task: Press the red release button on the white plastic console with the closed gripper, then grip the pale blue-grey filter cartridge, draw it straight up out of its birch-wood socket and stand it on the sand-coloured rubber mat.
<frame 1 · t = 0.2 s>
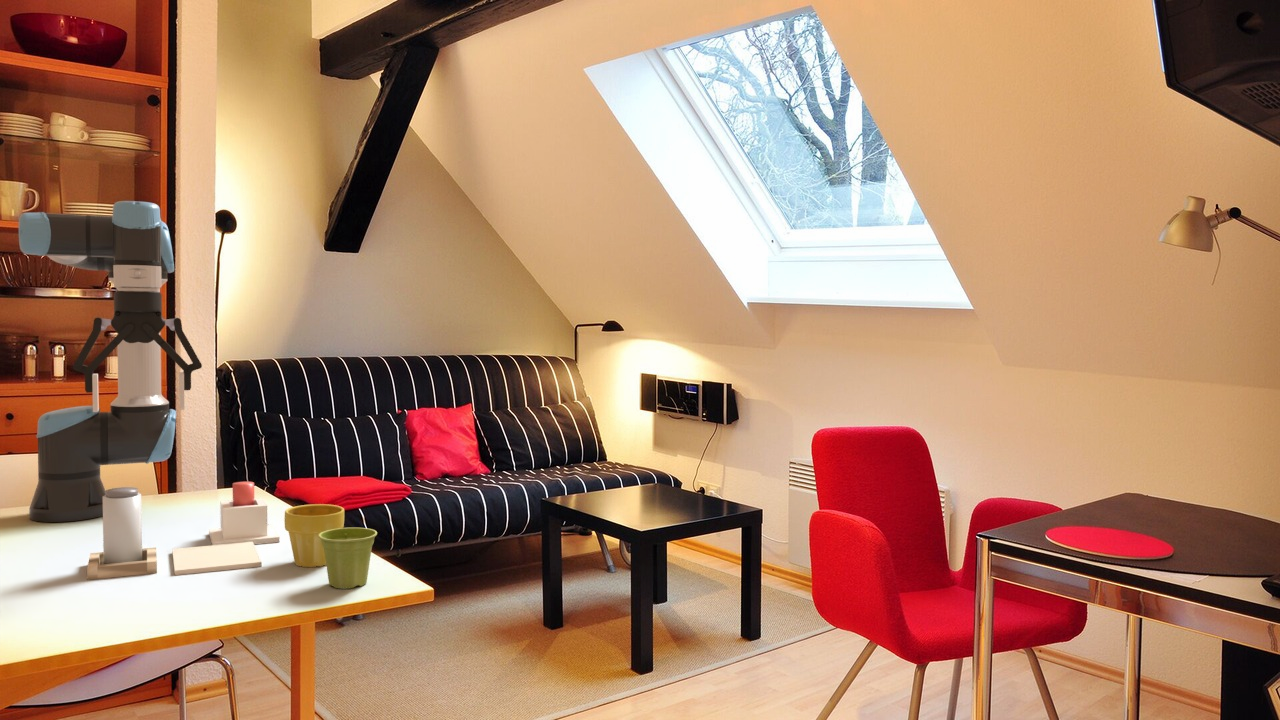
hand: (139, 410, 173), 28 cm above the table, tool pointing down, fingers open, 13 cm apart
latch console: (243, 538, 195), on the table
filter cartridge: (122, 529, 171), in the socket
latch button: (243, 495, 194), point 8 cm above the table, slide at 0.0 cm
plant pot: (314, 563, 178), on the table
sand mat: (216, 559, 178), on the table
socket: (123, 568, 172), on the table
plant pot 2: (348, 585, 165), on the table
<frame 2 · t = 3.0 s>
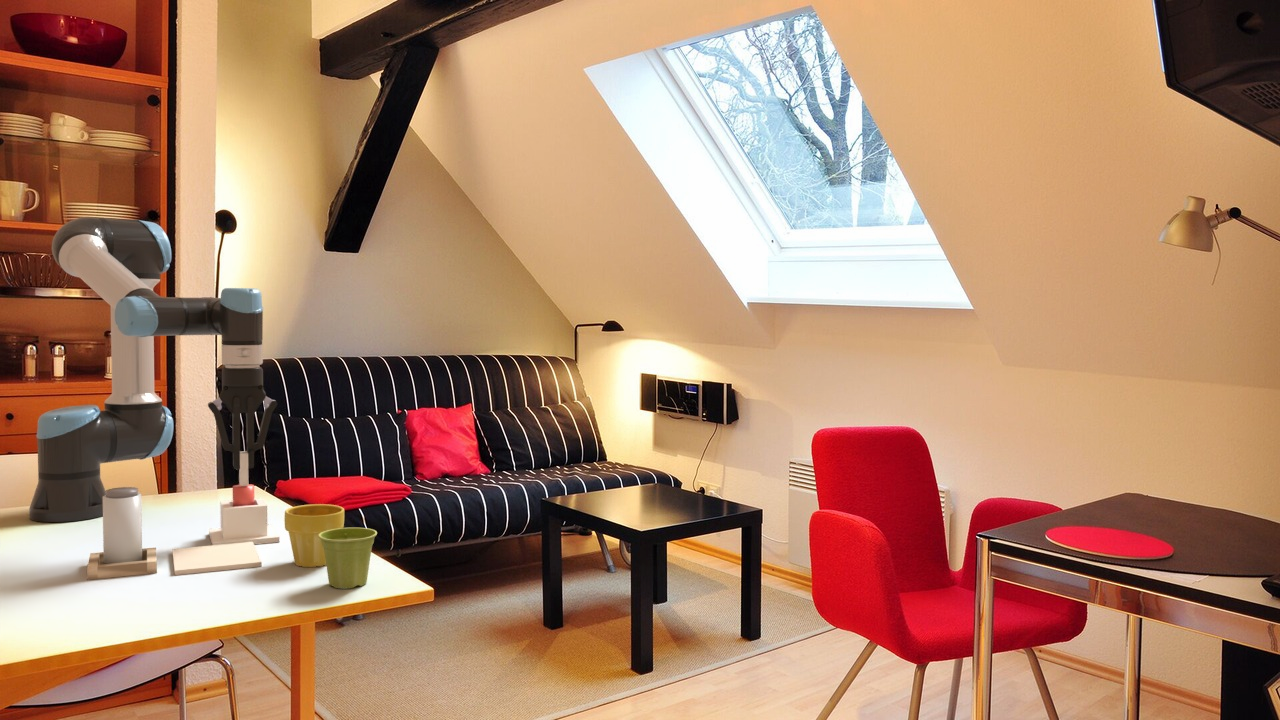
hand: (243, 484, 194), 11 cm above the table, tool pointing down, fingers closed
latch button: (243, 498, 194), point 8 cm above the table, slide at 0.5 cm, touching gripper
everything else where it was.
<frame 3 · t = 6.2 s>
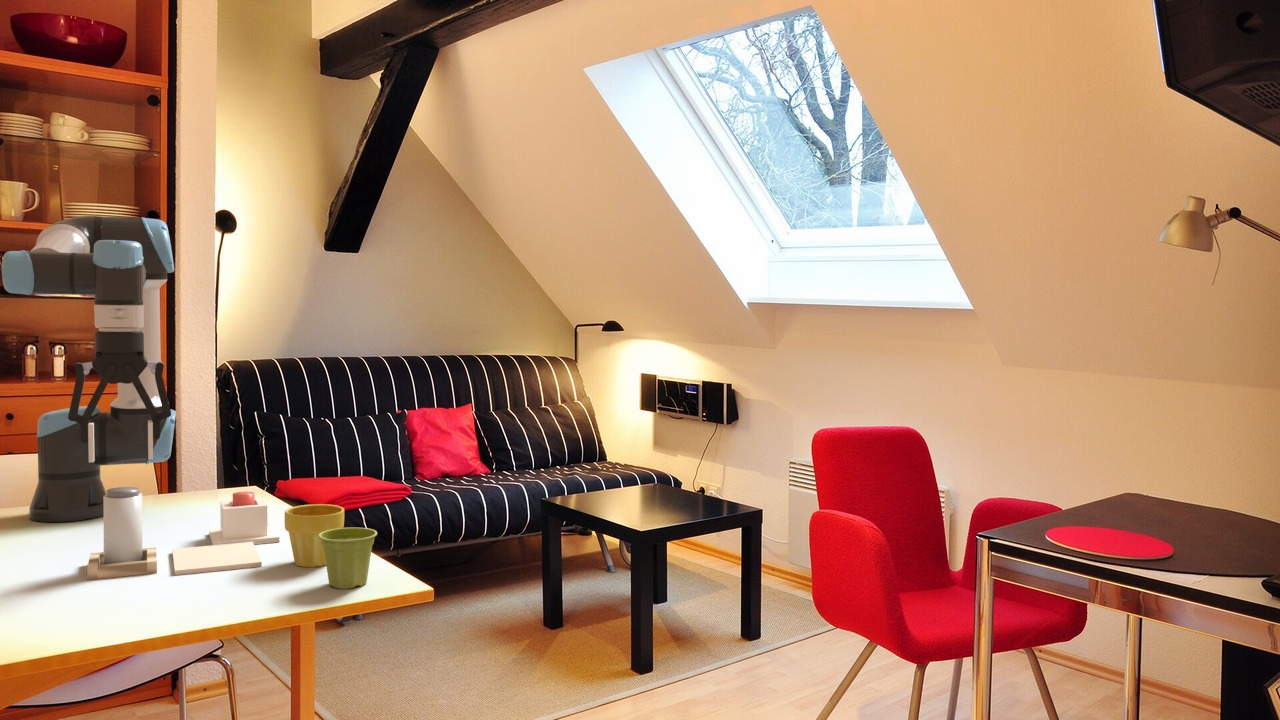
hand: (121, 459, 171), 19 cm above the table, tool pointing down, fingers open, 8 cm apart
latch button: (243, 505, 194), point 6 cm above the table, slide at 2.0 cm
everything else where it was.
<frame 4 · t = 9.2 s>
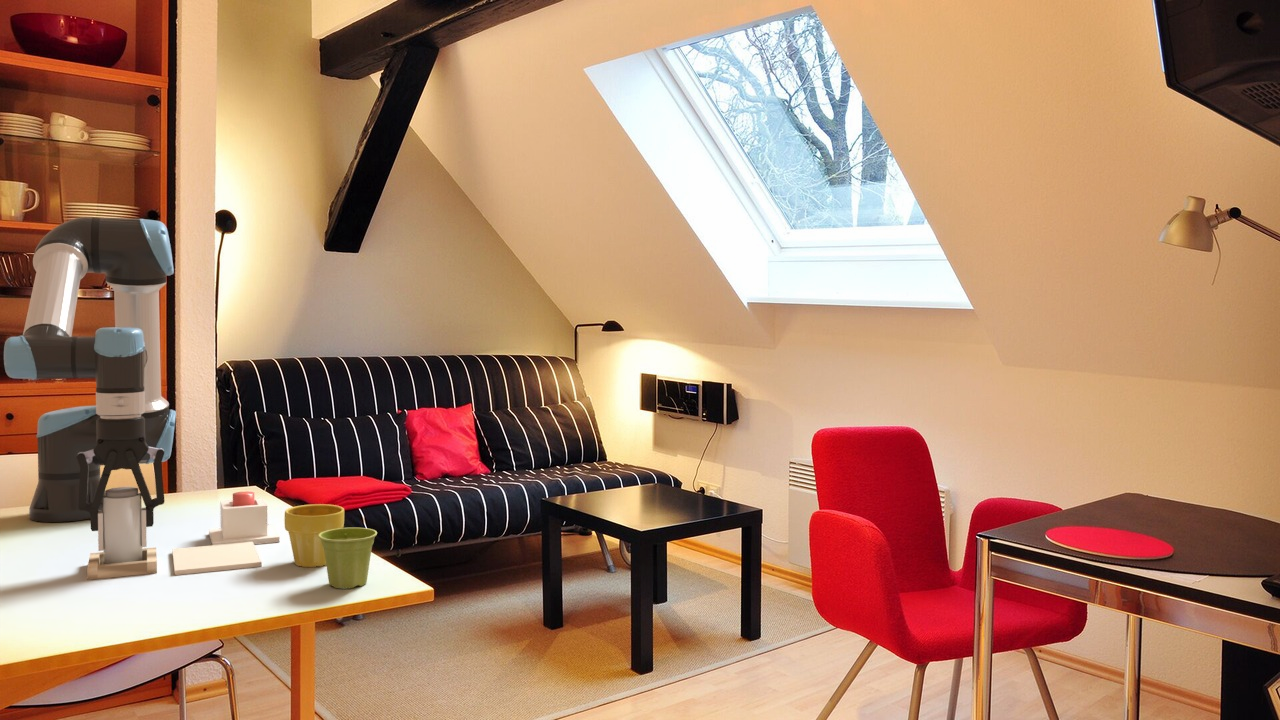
hand: (122, 546, 171), 4 cm above the table, tool pointing down, fingers closed on filter cartridge, 6 cm apart
filter cartridge: (122, 529, 171), in the socket, touching gripper
everything else where it was.
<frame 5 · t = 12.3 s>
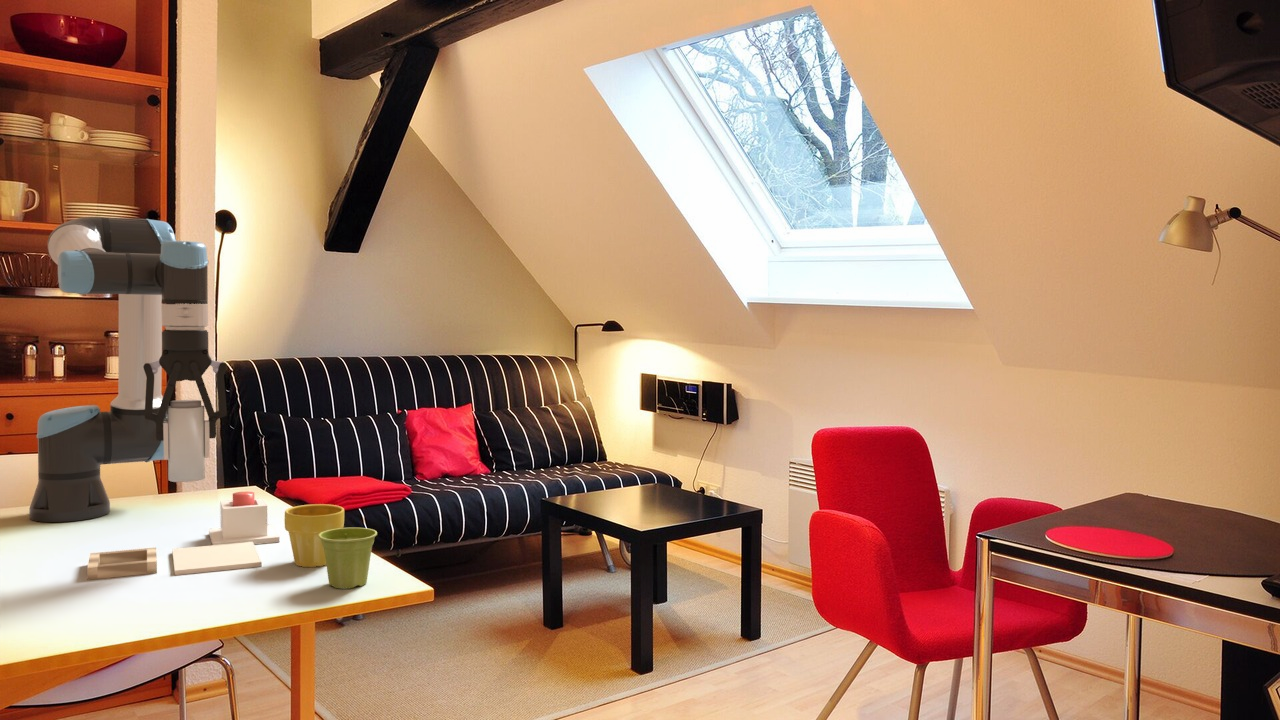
hand: (186, 457, 175), 19 cm above the table, tool pointing down, fingers closed on filter cartridge, 6 cm apart
filter cartridge: (186, 440, 175), point 22 cm above the table, touching gripper
everything else where it was.
when the fingers open (6 cm above the table, at t = 15.5 s): filter cartridge drops 1 cm, resting on sand mat.
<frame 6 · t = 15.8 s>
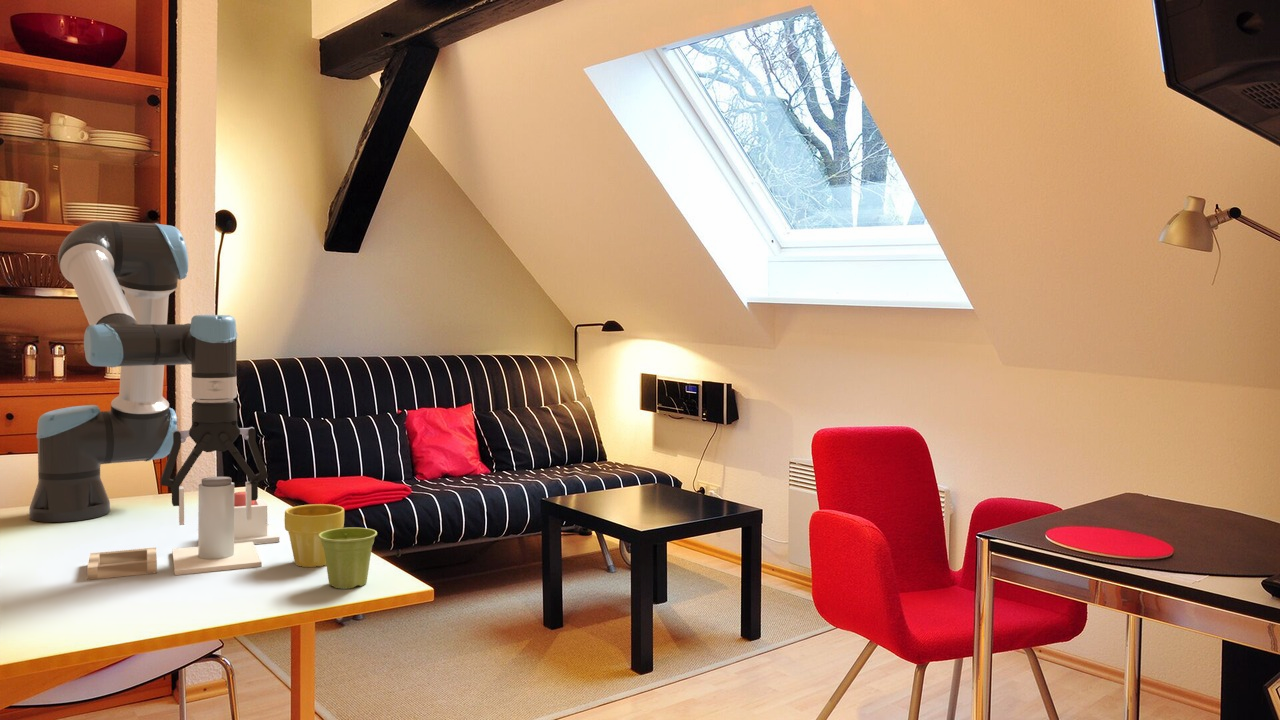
hand: (215, 520, 178), 7 cm above the table, tool pointing down, fingers open, 10 cm apart
filter cartridge: (216, 517, 178), on the sand mat, point 8 cm above the table
everything else where it was.
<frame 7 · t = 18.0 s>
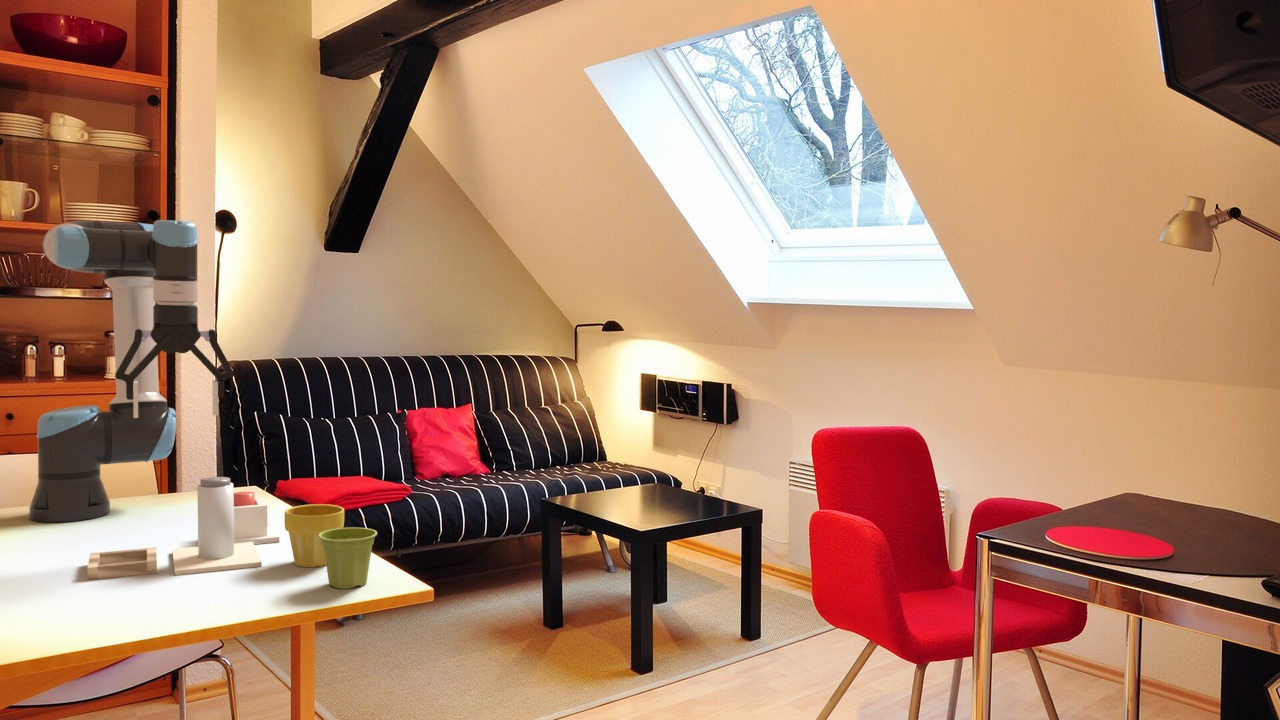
hand: (176, 415, 185), 25 cm above the table, tool pointing down, fingers open, 13 cm apart
nothing on the table moved.
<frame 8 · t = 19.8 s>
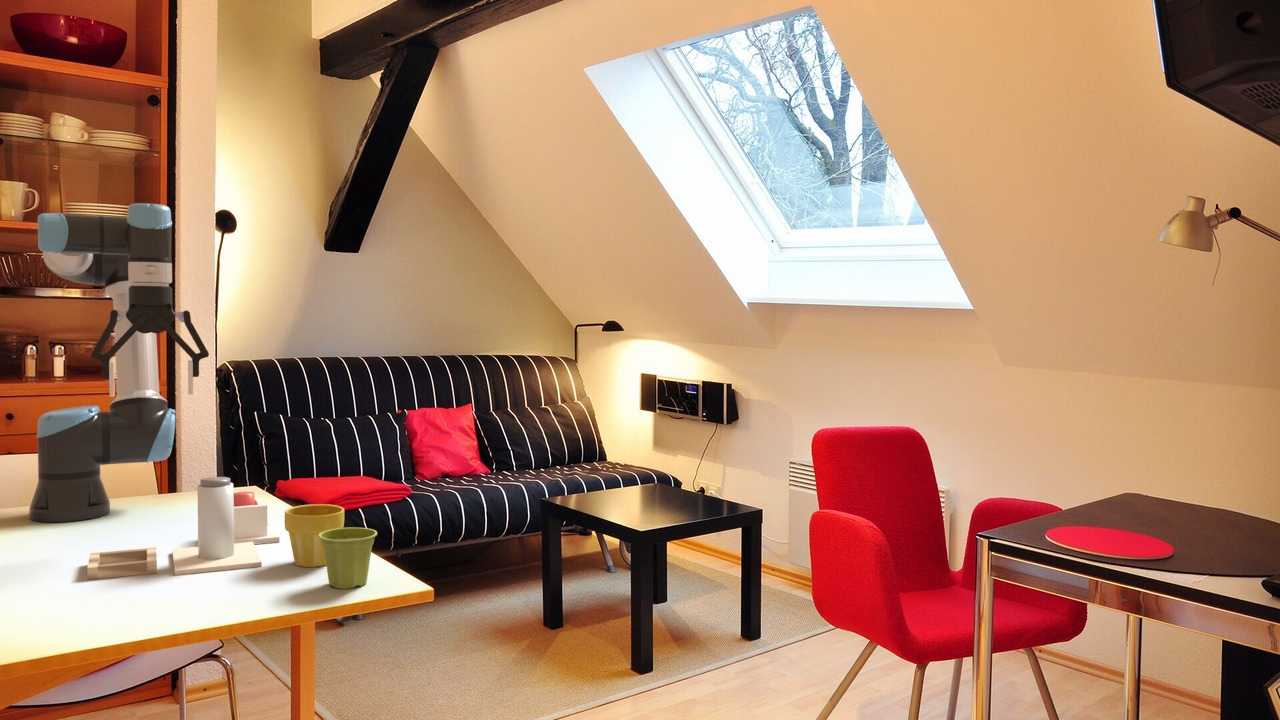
hand: (152, 395, 189), 29 cm above the table, tool pointing down, fingers open, 13 cm apart
nothing on the table moved.
at the end: latch button slide at 2.0 cm; filter cartridge inside the target area on the sand mat (0.0 cm from its centre), point 7.8 cm above the sand mat's base; filter cartridge tilted 0° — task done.
